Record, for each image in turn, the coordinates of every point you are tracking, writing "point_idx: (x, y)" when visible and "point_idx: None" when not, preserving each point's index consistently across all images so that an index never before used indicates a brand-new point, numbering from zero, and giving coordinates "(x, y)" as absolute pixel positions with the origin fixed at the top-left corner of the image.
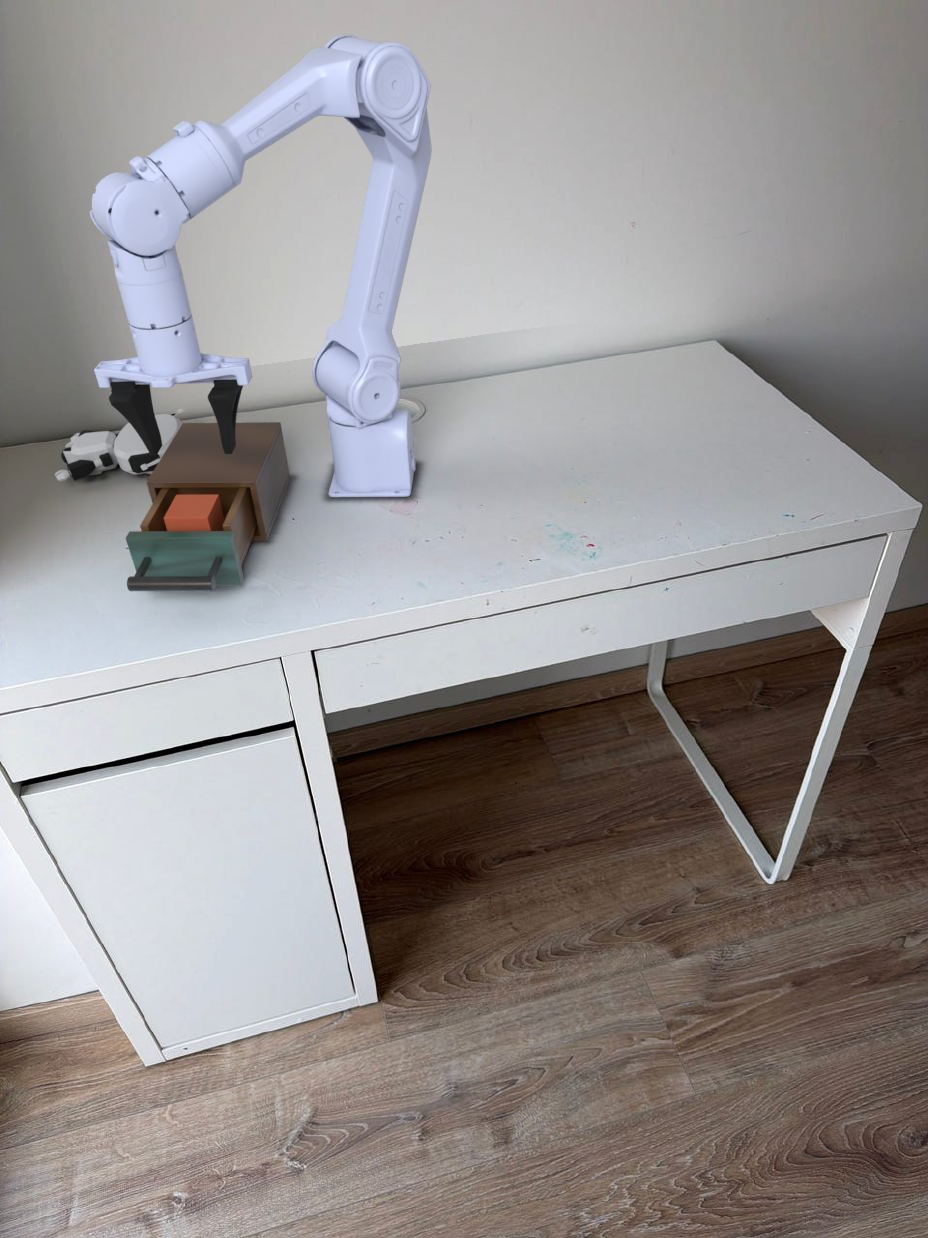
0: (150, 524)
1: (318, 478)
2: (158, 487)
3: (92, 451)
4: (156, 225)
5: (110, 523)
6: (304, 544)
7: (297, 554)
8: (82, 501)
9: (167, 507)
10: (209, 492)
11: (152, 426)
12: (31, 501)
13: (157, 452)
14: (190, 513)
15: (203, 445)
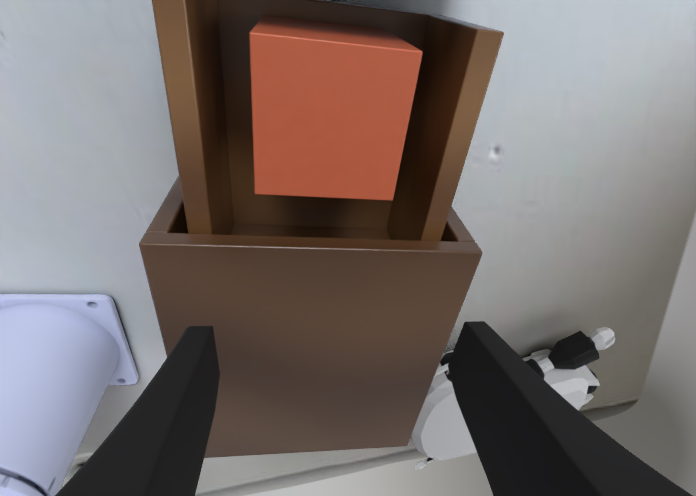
0: (466, 55)
1: (163, 345)
2: (447, 241)
3: (557, 384)
4: None
5: (525, 232)
6: (91, 134)
7: (90, 91)
8: (565, 292)
9: (419, 191)
10: None
11: (493, 429)
12: (641, 293)
13: (462, 332)
14: (326, 75)
15: (349, 389)
